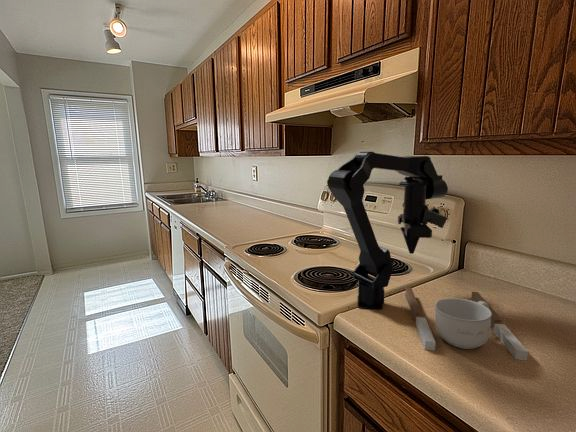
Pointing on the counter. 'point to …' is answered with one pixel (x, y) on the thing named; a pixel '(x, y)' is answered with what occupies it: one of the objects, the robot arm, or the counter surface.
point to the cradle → (474, 297)
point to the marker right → (510, 342)
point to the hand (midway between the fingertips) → (411, 253)
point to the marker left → (425, 333)
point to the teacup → (463, 322)
